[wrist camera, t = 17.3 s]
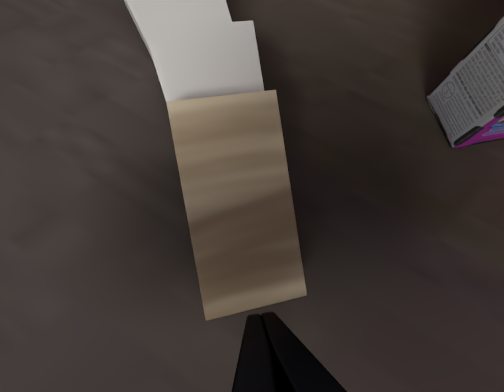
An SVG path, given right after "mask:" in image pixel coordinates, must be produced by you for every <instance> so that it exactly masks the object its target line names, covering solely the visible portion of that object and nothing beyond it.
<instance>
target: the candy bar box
mask: <svg viewBox="0 0 504 392" xmlns="http://www.w3.org/2000/svg"><path fill="white" fill-rule="evenodd" d="M427 100H428V103H429V105H430V108H431V110H432V112H433V113H434V115H435V116H436V118H437V120H438V122H439V124H440V125H441V127H442V129H443V131H444V134H445V136H446V138H447V139H448V141H449V143H450V145H451V147H452V148H458V147H463V146H468V145H473V144H478V143H484V142H489V141H494V140H499V139H504V16H503V17H502V18H501V19H500V20H499V22H498V23H497V24H496V25H495V26H494V27H493V28H492V29H491V30H490V31H489V32H488V33H487V34H486V35H485V36H484V37H483V38H482V39H481V40H480V41H479V42H478V43H477V44H476V45H475V47H474V48H473V49H472V50H471V51H470V52H469V53H468V54H467V55H466V56H465V57H464V58H463V59H462V60H461V61H460V62H459V63H458V64H457V65H456V66H455V67H454V68H453V69H452V70H451V71H450V73H449V74H447V75H446V76H445V78H444V79H443V80H442V81H441V82H440V83H439V84H438V85H437V86H436V87H435V88H434V89H433V90H432V91H431V92H430V93H429V94H428V95H427Z"/></svg>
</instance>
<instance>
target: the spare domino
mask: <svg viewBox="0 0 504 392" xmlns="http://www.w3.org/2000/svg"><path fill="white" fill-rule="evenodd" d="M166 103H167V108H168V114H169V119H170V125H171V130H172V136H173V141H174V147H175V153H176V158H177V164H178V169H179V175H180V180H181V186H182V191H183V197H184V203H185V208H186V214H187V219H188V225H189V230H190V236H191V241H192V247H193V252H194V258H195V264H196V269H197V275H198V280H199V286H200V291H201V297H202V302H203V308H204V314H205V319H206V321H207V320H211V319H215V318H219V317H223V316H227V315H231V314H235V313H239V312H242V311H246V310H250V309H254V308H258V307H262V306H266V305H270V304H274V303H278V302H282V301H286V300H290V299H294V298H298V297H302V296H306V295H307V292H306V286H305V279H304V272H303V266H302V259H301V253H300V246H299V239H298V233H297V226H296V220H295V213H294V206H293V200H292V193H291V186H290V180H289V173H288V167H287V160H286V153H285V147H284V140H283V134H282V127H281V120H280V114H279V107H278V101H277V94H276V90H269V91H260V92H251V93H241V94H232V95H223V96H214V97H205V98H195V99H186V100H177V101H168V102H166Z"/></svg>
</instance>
